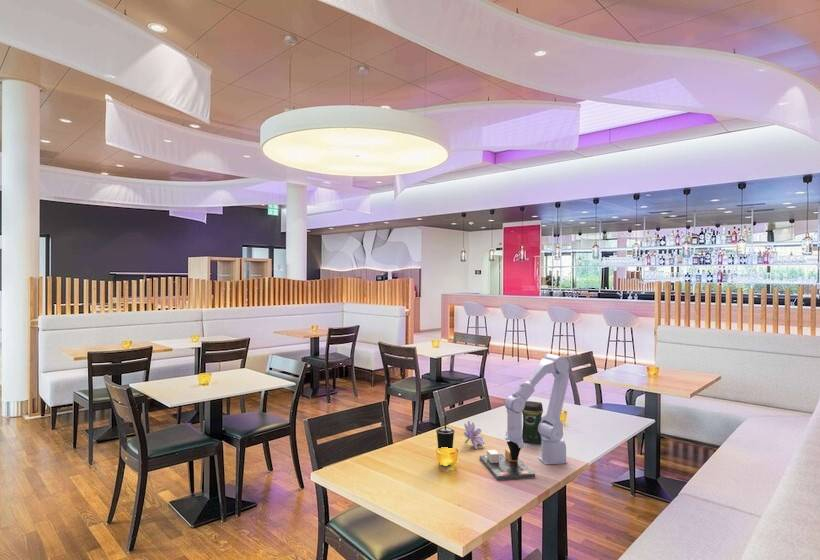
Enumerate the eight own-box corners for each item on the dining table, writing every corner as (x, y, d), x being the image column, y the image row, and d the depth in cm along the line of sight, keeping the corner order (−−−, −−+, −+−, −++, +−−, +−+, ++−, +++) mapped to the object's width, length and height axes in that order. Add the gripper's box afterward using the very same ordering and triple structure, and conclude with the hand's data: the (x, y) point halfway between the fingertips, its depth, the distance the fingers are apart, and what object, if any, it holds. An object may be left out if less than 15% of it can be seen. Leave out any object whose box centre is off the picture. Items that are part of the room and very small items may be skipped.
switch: (495, 458, 198) (495, 449, 198) (499, 462, 193) (499, 453, 193) (487, 458, 197) (486, 450, 197) (490, 463, 192) (490, 454, 192)
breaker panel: (513, 456, 204) (513, 453, 204) (535, 477, 182) (535, 473, 182) (479, 459, 201) (479, 455, 201) (497, 480, 180) (497, 475, 180)
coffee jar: (545, 440, 225) (544, 401, 225) (540, 445, 218) (540, 404, 218) (524, 437, 230) (524, 398, 230) (519, 442, 223) (519, 402, 223)
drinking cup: (449, 469, 191) (449, 418, 191) (432, 465, 195) (432, 416, 195) (457, 463, 197) (457, 414, 197) (441, 459, 201) (441, 411, 201)
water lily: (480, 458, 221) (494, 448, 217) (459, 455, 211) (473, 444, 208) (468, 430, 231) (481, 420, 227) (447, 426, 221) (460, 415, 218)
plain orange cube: (513, 456, 199) (513, 448, 199) (517, 461, 194) (517, 452, 194) (505, 457, 199) (505, 448, 199) (509, 461, 194) (509, 453, 194)
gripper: (498, 421, 200) (499, 454, 200) (511, 432, 185) (512, 467, 185) (514, 420, 201) (515, 453, 201) (529, 431, 187) (529, 466, 186)
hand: (514, 459), depth 193 cm, fingers closed
